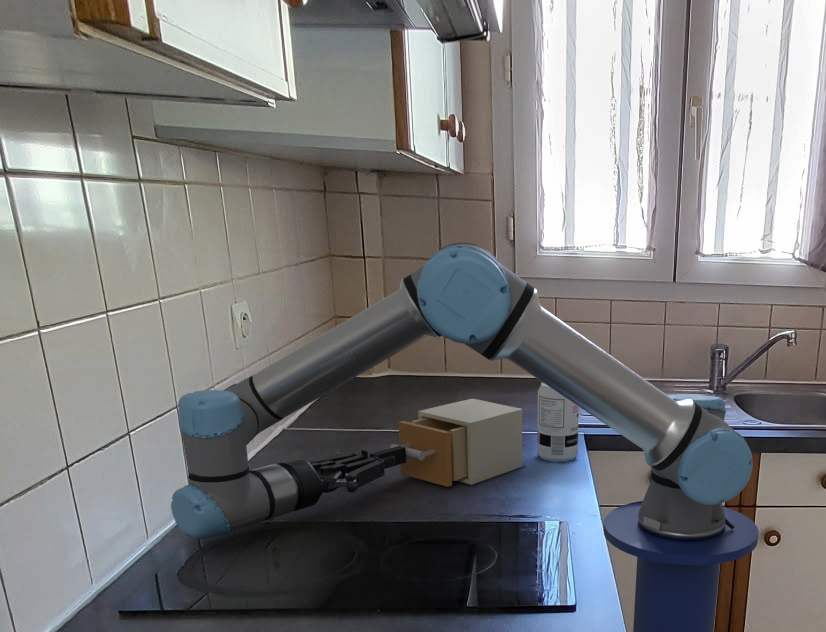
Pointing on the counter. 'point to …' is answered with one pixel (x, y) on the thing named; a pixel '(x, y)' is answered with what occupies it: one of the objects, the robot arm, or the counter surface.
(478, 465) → the cabinet
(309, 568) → the counter surface
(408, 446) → the drawer
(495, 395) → the counter surface
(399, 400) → the counter surface
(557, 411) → the supplement can
